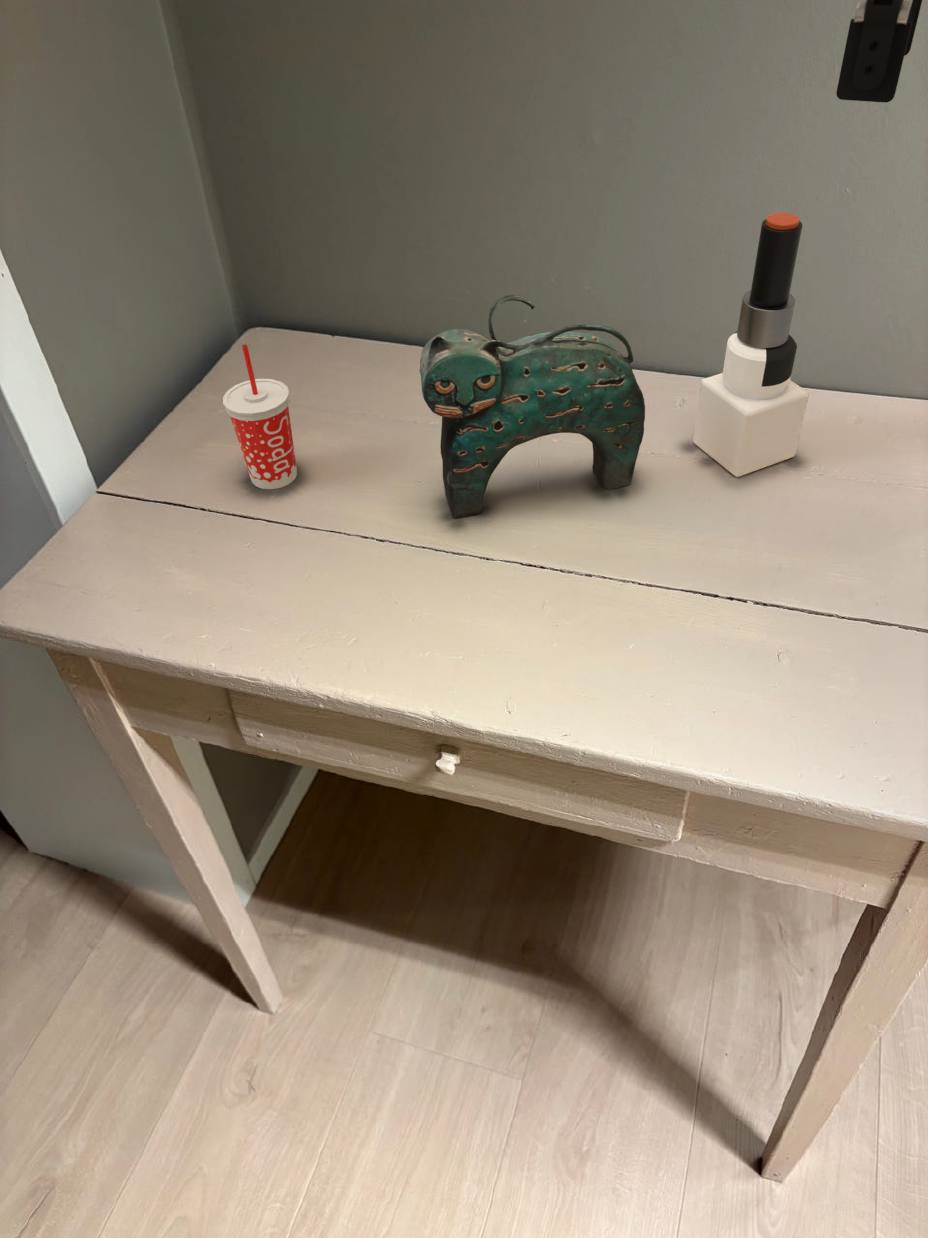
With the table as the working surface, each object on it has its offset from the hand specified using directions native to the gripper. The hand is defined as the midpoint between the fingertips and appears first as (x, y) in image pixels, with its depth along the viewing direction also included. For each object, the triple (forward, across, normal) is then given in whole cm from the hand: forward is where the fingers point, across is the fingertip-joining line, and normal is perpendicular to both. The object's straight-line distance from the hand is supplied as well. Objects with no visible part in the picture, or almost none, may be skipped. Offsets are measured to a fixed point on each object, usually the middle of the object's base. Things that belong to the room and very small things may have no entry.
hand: (873, 75), depth 59 cm
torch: (+24, +12, +5) cm, 28 cm away
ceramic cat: (+36, -1, +22) cm, 43 cm away
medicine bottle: (+36, +12, +5) cm, 39 cm away
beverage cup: (+36, -7, +47) cm, 60 cm away
